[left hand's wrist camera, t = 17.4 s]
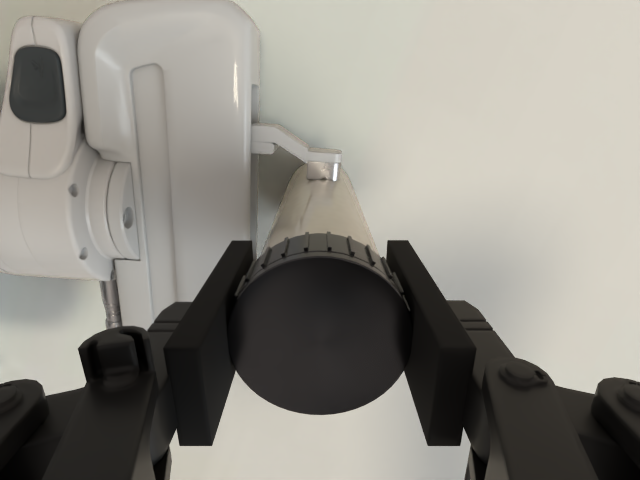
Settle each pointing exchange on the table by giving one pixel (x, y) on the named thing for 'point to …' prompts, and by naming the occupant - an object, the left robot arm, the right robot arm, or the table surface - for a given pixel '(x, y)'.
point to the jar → (319, 210)
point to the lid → (320, 325)
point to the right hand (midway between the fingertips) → (335, 218)
